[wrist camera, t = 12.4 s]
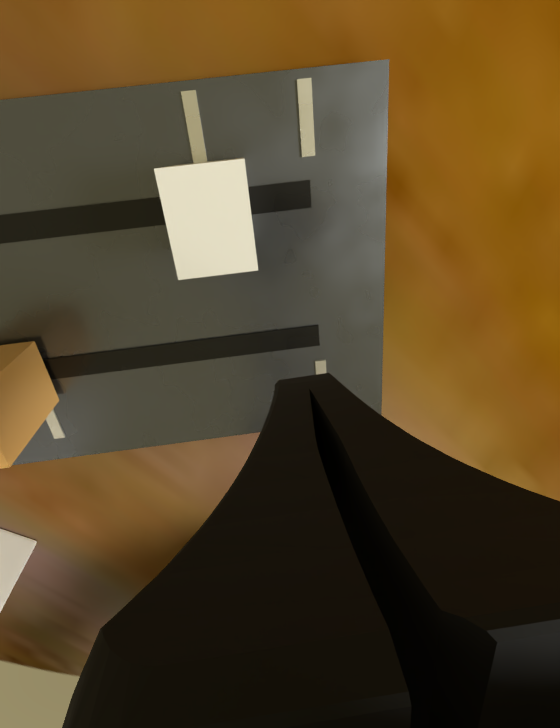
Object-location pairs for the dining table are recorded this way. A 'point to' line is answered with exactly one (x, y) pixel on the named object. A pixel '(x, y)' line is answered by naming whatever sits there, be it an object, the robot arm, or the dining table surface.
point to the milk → (12, 560)
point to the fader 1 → (22, 398)
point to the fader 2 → (208, 217)
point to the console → (155, 259)
